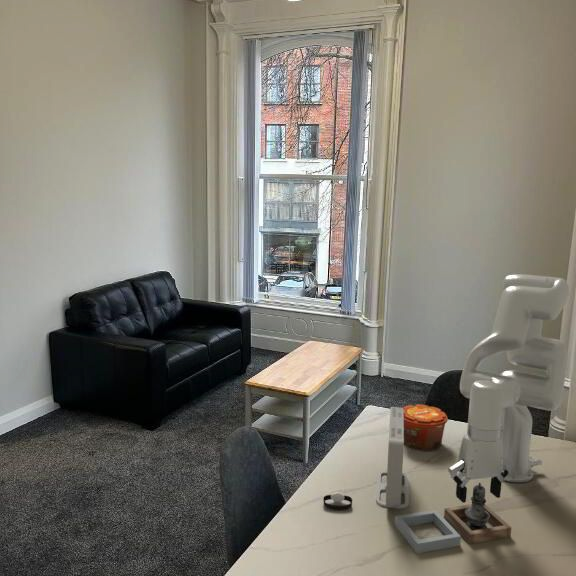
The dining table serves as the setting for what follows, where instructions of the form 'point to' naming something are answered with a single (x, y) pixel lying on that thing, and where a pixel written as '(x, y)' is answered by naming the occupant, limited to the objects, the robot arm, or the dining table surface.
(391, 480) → the network device
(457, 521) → the walnut collar
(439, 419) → the food container
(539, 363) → the robot arm
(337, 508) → the watch
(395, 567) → the dining table surface
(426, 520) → the slate-grey collar
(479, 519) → the marbled chess piece
